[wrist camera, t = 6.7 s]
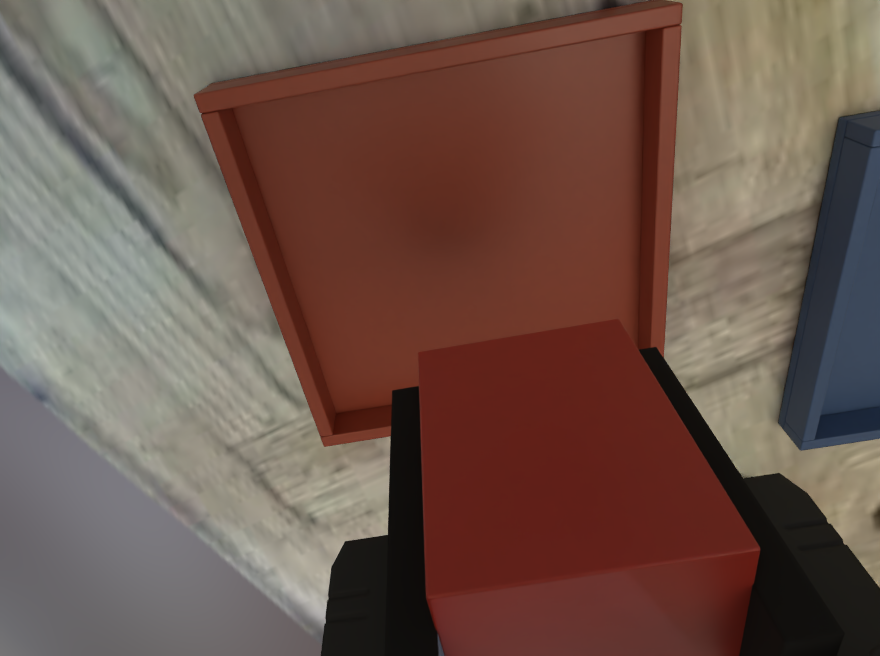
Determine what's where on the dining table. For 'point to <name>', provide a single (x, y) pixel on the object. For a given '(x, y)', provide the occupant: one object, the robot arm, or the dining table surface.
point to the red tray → (455, 196)
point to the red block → (572, 505)
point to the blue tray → (841, 302)
